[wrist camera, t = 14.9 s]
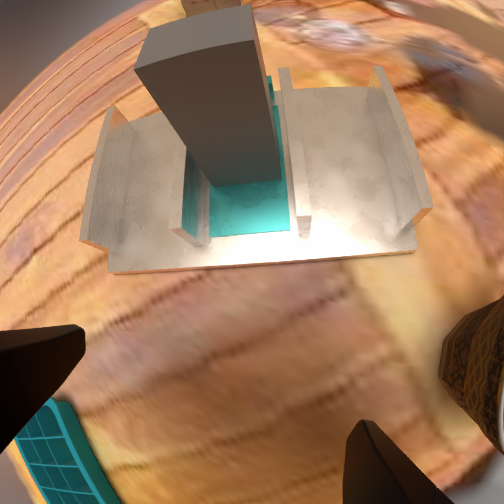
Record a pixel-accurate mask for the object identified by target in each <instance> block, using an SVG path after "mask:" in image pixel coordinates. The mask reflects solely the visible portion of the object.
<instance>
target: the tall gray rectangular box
mask: <svg viewBox="0 0 504 504" xmlns="http://www.w3.org/2000/svg"><path fill="white" fill-rule="evenodd" d="M134 71H135V72H136V74H137V75H138V77H139V78H140V80H141V81H142V83H143V84H144V86H145V87H146V88H147V90H148V91H149V93H150V94H151V96H152V97H153V99H154V100H155V102H156V103H157V105H158V106H159V108H160V109H161V111H162V112H163V114H164V115H165V116H166V118H167V119H168V121H169V122H170V124H171V125H172V127H173V128H174V130H175V131H176V133H177V134H178V136H179V137H180V139H181V140H182V142H183V143H184V145H185V146H186V148H187V149H188V150H189V152H190V153H191V155H192V156H193V158H194V159H195V161H196V162H197V164H198V165H199V167H200V168H201V170H202V171H203V173H204V174H205V176H206V177H207V179H208V180H209V182H210V183H211V185H212V186H213V188H215V187H222V186H230V185H239V184H247V183H257V182H266V181H276V180H282V174H281V163H280V153H279V143H278V136H277V130H276V124H275V119H274V113H273V108H272V102H271V97H270V92H269V86H268V81H267V76H266V71H265V66H264V61H263V56H262V52H261V47H260V42H259V38H258V33H257V28H256V24H255V20H254V15H253V11H252V7H251V4H249V5H242V6H236V7H231V8H225V9H220V10H215V11H211V12H206V13H202V14H198V15H194V16H190V17H187V18H183V19H179V20H176V21H173V22H169V23H166V24H163V25H160V26H157V27H154V28H151V29H150V30H149V32H148V35H147V37H146V39H145V42H144V44H143V46H142V49H141V51H140V54H139V56H138V59H137V62H136V64H135V67H134Z"/></svg>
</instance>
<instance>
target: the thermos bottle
mask: <svg viewBox="0 0 504 504" xmlns="http://www.w3.org/2000/svg"><path fill="white" fill-rule="evenodd" d="M181 3H182V5H183V7H184V10H185V12H186V14H187V16H188V17H190V16H194V15H198V14H202V13H206V12H211V11H215V10H220V9H225V8H231V7H236V6H239V5H240V0H181Z"/></svg>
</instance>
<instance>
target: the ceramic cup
mask: <svg viewBox="0 0 504 504" xmlns="http://www.w3.org/2000/svg"><path fill="white" fill-rule="evenodd" d="M439 378H440V379H441V381H442V382H443V384H444V385H445V387H446V389H447V390H448V392H449V393H450V395H451V397H452V398H453V399H454V400H455V401H456V403H457V404H458V405H459V406H460V407H461V408H463V409H464V411H465V412H466V413H467V414H468V415H469V416H470V417H471V418H472V419H473V420H474V421H475V422H476V423H477V424H478V425H479V427H480V429H481V430H482V432H483V433H484V435H485V436H486V437H487V438H488V439H489V440H490V442H491V443H492V444H493V445H494V446H495V447H496V448H497V449H498V450H499V451H500V452H501V453H502V454H503V455H504V295H503V296H502V297H501V298H500V299H499V300H497V301H495V302H493V303H491V304H489V305H487V306H485V307H483V308H481V309H479V310H476V311H474V312H472V313H469V314H467V315H466V316H465V317H464V318H463V319H462V320H461V321H460V323H459V324H458V325H457V326H456V327H455V328H454V329H453V330H452V332H451V333H450V334H449V335H448V336H447V337H446V338H445V340H444V345H443V352H442V358H441V364H440V370H439Z"/></svg>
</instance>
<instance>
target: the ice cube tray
mask: <svg viewBox="0 0 504 504" xmlns="http://www.w3.org/2000/svg"><path fill="white" fill-rule="evenodd" d="M14 439H15V441H16V444H17V446H18V448H19V451H20V453H21V455H22V457H23V459H24V461H25V463H26V466H27V468H28V470H29V472H30V473H31V475H32V477H33V479H34V481H35V483H36V485H37V487H38V488H39V490H40V492H41V494H42V495H43V497H44V499H45V500H46V502H47V503H48V504H122V503H121V502H120V500H119V499H118V497H117V495H116V494H115V492H114V491H113V489H112V487H111V486H110V484H109V482H108V480H107V479H106V477H105V475H104V473H103V471H102V470H101V468H100V466H99V464H98V462H97V460H96V458H95V456H94V454H93V452H92V450H91V448H90V446H89V444H88V442H87V440H86V438H85V435H84V433H83V431H82V429H81V426H80V424H79V422H78V419H77V417H76V414H75V412H74V410H73V408H72V407H71V405H70V404H68V403H67V402H66V401H61V402H56V400H55V399H54V398H53V397H50V398H49V400H48V401H47V402H46V403H45V404H44V405H43V406H42V407H41V408H40V409H39V410H38V412H37V413H36V414H35V415H34V416H33V417H32V418H31V419H30V421H29V422H28V423H27V424H26V425H25V426H24V427H23V428H22V430H21V431H20V432H19V433H18V434H17V435H16V437H15V438H14Z"/></svg>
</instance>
